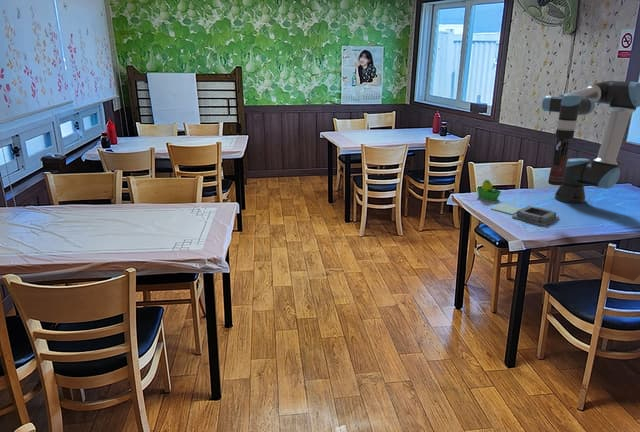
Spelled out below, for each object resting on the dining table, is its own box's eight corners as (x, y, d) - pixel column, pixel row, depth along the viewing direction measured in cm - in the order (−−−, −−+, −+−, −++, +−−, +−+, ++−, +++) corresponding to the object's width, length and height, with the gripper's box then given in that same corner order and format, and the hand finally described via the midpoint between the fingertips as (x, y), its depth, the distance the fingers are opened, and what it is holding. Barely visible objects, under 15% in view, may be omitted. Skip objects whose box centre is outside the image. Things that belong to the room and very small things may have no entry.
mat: (501, 204, 245) (502, 203, 245) (523, 210, 237) (523, 208, 237) (490, 209, 238) (490, 208, 238) (512, 214, 229) (512, 213, 229)
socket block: (527, 210, 236) (528, 204, 234) (559, 219, 224) (560, 212, 223) (512, 217, 226) (513, 211, 224) (544, 226, 214) (545, 219, 213)
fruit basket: (500, 199, 254) (503, 180, 250) (490, 202, 249) (493, 182, 245) (483, 194, 263) (486, 175, 259) (473, 197, 258) (476, 178, 254)
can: (564, 186, 213) (570, 156, 209) (550, 185, 214) (555, 155, 210) (560, 182, 219) (565, 154, 215) (546, 181, 220) (551, 153, 216)
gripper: (562, 126, 215) (553, 175, 223) (551, 129, 206) (542, 179, 214) (579, 128, 210) (569, 178, 218) (568, 131, 201) (558, 183, 209)
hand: (556, 179), depth 216 cm, fingers closed
